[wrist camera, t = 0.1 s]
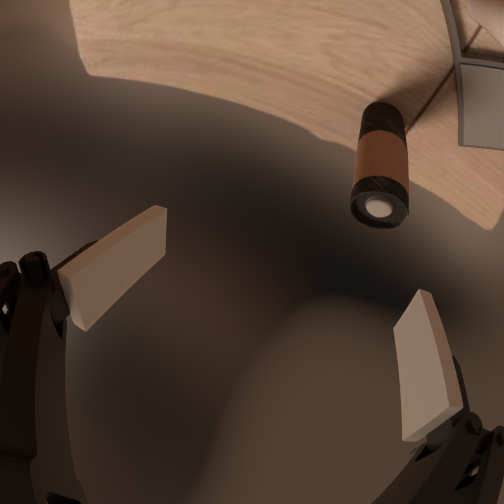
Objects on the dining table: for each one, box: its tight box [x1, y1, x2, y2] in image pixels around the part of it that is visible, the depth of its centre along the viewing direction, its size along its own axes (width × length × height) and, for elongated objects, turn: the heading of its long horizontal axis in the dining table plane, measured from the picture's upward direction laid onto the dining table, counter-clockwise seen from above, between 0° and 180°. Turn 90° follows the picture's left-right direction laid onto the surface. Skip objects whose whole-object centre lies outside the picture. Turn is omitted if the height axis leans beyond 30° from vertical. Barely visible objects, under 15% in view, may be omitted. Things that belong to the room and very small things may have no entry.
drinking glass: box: [466, 0, 504, 49], centre depth 8 cm, size 7×7×15 cm
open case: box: [440, 0, 504, 151], centre depth 17 cm, size 33×13×2 cm, turn 29°
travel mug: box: [350, 102, 409, 229], centre depth 33 cm, size 8×8×20 cm
